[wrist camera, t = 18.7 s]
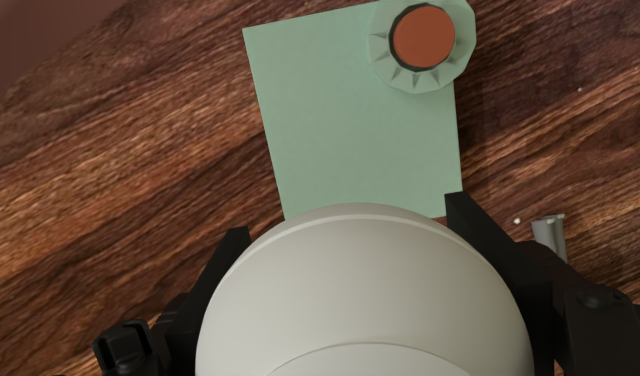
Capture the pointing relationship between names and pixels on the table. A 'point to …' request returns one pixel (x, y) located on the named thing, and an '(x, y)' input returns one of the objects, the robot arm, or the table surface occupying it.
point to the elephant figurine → (551, 234)
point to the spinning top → (362, 302)
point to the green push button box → (359, 108)
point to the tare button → (424, 37)
